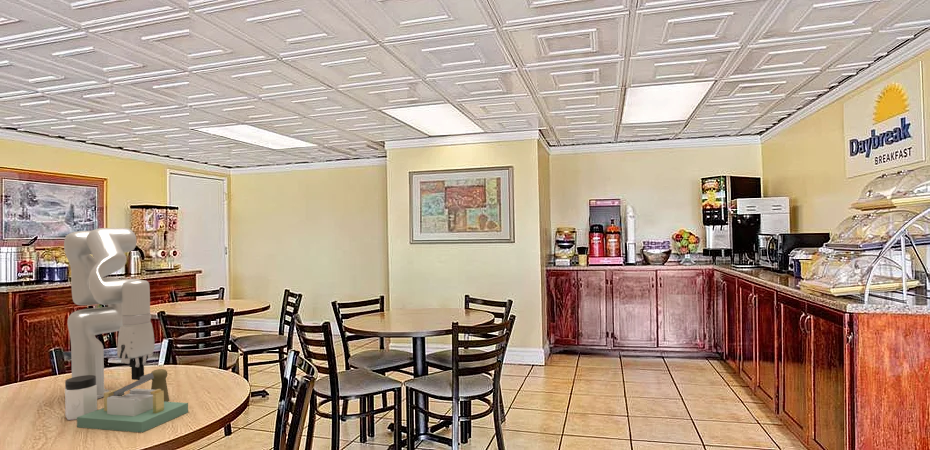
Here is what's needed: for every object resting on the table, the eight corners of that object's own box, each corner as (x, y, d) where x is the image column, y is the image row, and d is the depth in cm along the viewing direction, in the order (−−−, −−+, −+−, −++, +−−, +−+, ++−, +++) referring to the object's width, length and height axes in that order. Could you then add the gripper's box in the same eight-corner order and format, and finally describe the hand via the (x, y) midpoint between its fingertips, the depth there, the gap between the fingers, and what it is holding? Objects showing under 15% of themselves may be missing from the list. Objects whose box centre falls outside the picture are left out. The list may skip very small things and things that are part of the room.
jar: (59, 421, 170) (58, 382, 170) (71, 413, 178) (71, 376, 178) (91, 418, 172) (90, 380, 172) (102, 410, 180) (101, 374, 180)
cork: (160, 404, 184) (159, 372, 184) (145, 404, 185) (144, 371, 185) (173, 399, 190) (172, 367, 190) (158, 398, 191) (157, 367, 191)
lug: (150, 412, 166) (150, 391, 166) (158, 409, 169) (158, 388, 169) (156, 413, 165) (155, 391, 166) (164, 410, 168) (163, 389, 168)
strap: (114, 395, 169) (112, 390, 170) (122, 392, 172) (120, 387, 173) (146, 380, 166) (144, 375, 167) (154, 378, 169) (152, 372, 170)
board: (77, 427, 164) (76, 399, 164) (128, 408, 181) (127, 382, 181) (141, 432, 158) (141, 403, 158) (188, 412, 175) (187, 385, 175)
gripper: (146, 316, 178) (147, 372, 177) (105, 324, 163) (106, 385, 163) (165, 316, 176) (166, 373, 175) (125, 324, 161) (127, 386, 161)
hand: (137, 379), depth 169 cm, fingers closed
